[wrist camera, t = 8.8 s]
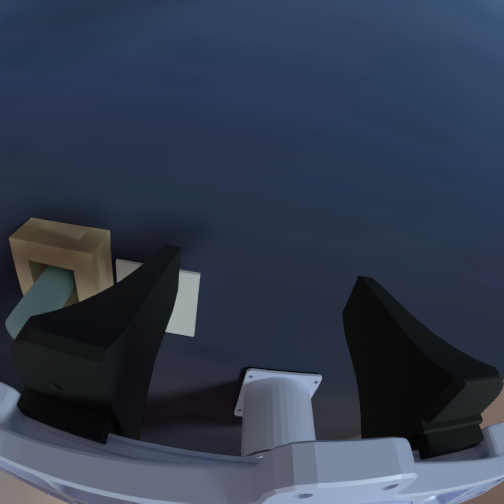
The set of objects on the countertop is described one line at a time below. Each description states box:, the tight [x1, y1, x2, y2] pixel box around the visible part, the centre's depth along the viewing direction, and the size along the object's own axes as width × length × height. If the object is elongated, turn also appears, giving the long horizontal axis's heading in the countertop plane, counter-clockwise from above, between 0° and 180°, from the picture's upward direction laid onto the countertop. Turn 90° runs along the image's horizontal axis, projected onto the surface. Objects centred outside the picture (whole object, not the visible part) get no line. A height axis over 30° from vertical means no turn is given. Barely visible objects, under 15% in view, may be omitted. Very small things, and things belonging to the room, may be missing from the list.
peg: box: [5, 265, 76, 340], centre depth 21 cm, size 3×3×9 cm
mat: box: [116, 259, 200, 337], centre depth 26 cm, size 7×7×1 cm
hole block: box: [9, 218, 114, 308], centre depth 25 cm, size 16×8×4 cm, turn 170°
